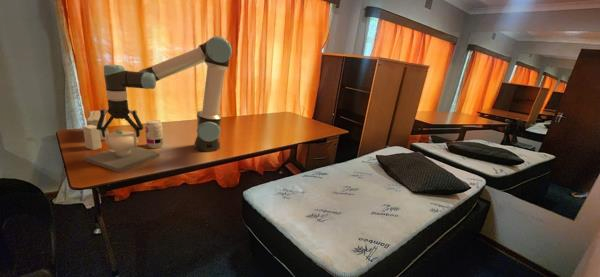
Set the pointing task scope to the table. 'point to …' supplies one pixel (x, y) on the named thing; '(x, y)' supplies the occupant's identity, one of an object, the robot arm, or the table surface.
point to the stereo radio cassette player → (96, 120)
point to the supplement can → (154, 133)
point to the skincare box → (92, 137)
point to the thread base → (121, 158)
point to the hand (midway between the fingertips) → (122, 142)
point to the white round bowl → (121, 140)
